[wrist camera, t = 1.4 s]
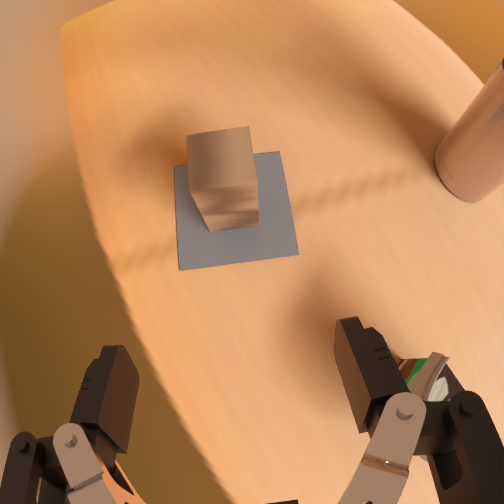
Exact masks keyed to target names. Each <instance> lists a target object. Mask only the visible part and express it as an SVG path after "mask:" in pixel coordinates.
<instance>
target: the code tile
mask: <svg viewBox="0 0 504 504" xmlns="http://www.w3.org/2000/svg"><path fill="white" fill-rule="evenodd" d="M254 161H255V167H256V174H257V180H258V205H259V226H254V227H247V228H239V229H232V230H225V231H218V232H211V233H210V231H209V229H208V227H207V225H206V223H205V221H204V219H203V217H202V215H201V213H200V211H199V209H198V207H197V205H196V203H195V201H194V199H193V197H192V195H191V193H190V191H189V178H188V164H187V165H182V166H176V167H174V175H175V202H176V223H177V240H178V255H179V268H180V271H182V270H189V269H197V268H205V267H212V266H220V265H227V264H235V263H242V262H250V261H257V260H264V259H272V258H279V257H286V256H293V255H299V251H298V245H297V240H296V234H295V228H294V223H293V217H292V212H291V207H290V201H289V196H288V191H287V186H286V181H285V176H284V171H283V166H282V161H281V156H280V152H272V153H263V154H255V155H254Z"/></svg>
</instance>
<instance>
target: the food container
mask: <svg viewBox="0 0 504 504" xmlns="http://www.w3.org/2000/svg"><path fill="white" fill-rule="evenodd" d="M448 360H449V357H445V356H444V355H443V354H439V353H436V352H432V354H431V355H430V356H429V358H420V359H403V360H402V361H401V362H400V363H399V365H398V368H399V370H400V372H401V374H402V376H403V378H404V380H405V382H406V384H407V386H408V388H409V390H410V391H411V393H413V394H415V395H417V396H418V397H420V398H421V399H422V400H425V401H450V400H451V398H452V397H453V396H454V395H455V394H456V393H458V392H460V391H465V390H464V388H463V387H462V386H461V384H460V383H459V381H458V380H457V378H456V377H455V375H454V374H453V373H452V371H451V370H450V368H449V367H448V365H447V364H446V363H447V361H448ZM501 440H502V439H501ZM419 456H420V457H421V458H422V459H424V460H425V461H427V462H428V460H427V457H426V455H419Z"/></svg>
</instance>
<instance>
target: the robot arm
mask: <svg viewBox="0 0 504 504" xmlns="http://www.w3.org/2000/svg"><path fill="white" fill-rule="evenodd" d="M434 160H435V166H436V170H437V172H438V174H439V177H440V178H441V180H442V182H443V183H444V185H445V186H446V187H447V188H448V189H449V190H450V191H451V192H452V193H453V194H454V195H455V196H457V197H458V198H460V199H462V200H464V201H467V202H478V201H480V200H482V199H483V198H484V197H486V196H487V195H488V194H490V193H491V192H492V191H494V190H495V189H496V188H498V187H499V186H501V185H502V184H503V183H504V59H503V60H502V61H501V63H500V64H499V66H498V67H497V68H496V70H495V71H494V73H493V74H492V75H491V77H490V78H489V80H488V81H487V83H486V84H485V85H484V87H483V88H482V89H481V91H480V92H479V94H478V95H477V96H476V98H475V99H474V100H473V102H472V103H471V104H470V106H469V107H468V108H467V109H466V111H465V112H464V113H463V115H462V116H461V117H460V119H459V120H458V121H457V122H456V124H455V125H454V126H453V128H452V129H451V130H450V131H449V133H448V134H447V135H446V136H445V138H444V139H443V140H442V141H441V143H440V144H439V145H438V146H437V148H436V150H435V155H434ZM334 353H335V359H336V363H337V366H338V369H339V372H340V375H341V378H342V381H343V384H344V387H345V390H346V393H347V396H348V399H349V402H350V405H351V409H352V412H353V415H354V418H355V421H356V424H357V427H358V431H359V434H360V433H364V432H367V431H368V433H369V436H370V439H371V440H370V442H369V444H368V447H367V449H366V451H365V453H364V455H363V457H362V459H361V461H360V463H359V465H358V467H357V469H356V471H355V473H354V475H353V477H352V479H351V481H350V483H349V485H348V487H347V489H346V490H345V492H344V494H343V496H342V497H341V499H340V501H339V503H338V504H397V502H398V500H399V498H400V496H401V493H402V491H403V488H404V486H405V484H406V481H407V478H408V475H409V470H408V468H409V464H410V462H411V459H412V456H413V455H426V457H427V460H428V463H429V467H430V470H431V473H432V477H433V480H434V484H435V487H436V491H437V494H438V498H439V502H440V504H504V446H503V444H502V442H501V439H500V437H499V435H498V432H497V430H496V428H495V426H494V423H493V421H492V419H491V417H490V415H489V412H488V410H487V408H486V406H485V404H484V402H483V400H482V398H481V397H480V396H479V395H478V394H476V393H474V392H472V391H460V392H458V393H456V394H455V395H454V396H453V397H452V398H451V400H450V401H425V400H422V399H421V398H420V397H418V396H417V395H415V394H413V393H411V391H410V390H409V388H408V386H407V384H406V382H405V380H404V378H403V376H402V374H401V372H400V370H399V368H398V366H397V364H396V362H395V360H394V358H393V357H392V354H391V352H390V350H389V349H388V346H387V344H386V342H385V340H384V338H383V336H382V335H381V334H380V333H379V332H378V331H376V330H375V329H374V328H373V327H370V328H366V329H364V328H363V326H362V324H361V322H360V320H359V318H358V317H357V316H354V317H349V318H344V319H339V320H337V322H336V332H335V344H334ZM138 387H139V374H138V371H137V368H136V367H135V365H134V363H133V361H132V359H131V358H130V356H129V354H128V352H127V350H126V348H125V347H124V346H123V345H105V346H104V347H103V348H102V350H101V354H100V356H99V359H94V360H93V361H92V363H91V364H90V365H89V367H88V368H87V369H86V372H85V375H84V379H83V382H82V384H81V387H80V389H81V390H79V393H78V396H77V399H76V403H75V406H74V409H73V412H72V416H71V419H70V422H69V423H68V424H65V425H63V426H61V427H60V428H59V429H58V430H57V431H56V433H55V435H54V436H50V437H45V438H40V439H37V438H36V437H35V436H33V435H32V434H31V433H29V432H21V433H19V434H17V435H16V436H15V437H14V438H13V440H12V442H11V445H10V449H9V452H8V457H7V460H6V464H5V469H4V473H3V477H2V482H1V487H0V504H37V502H36V495H37V489H38V483H39V477H40V478H42V481H41V487H40V493H39V500H38V504H146V503H145V502H144V501H143V500H142V499H141V498H140V497H139V495H138V494H137V492H136V491H135V489H134V488H133V487H132V485H131V483H130V482H129V480H128V479H127V477H126V476H125V474H124V472H123V471H122V469H121V467H120V466H119V464H118V463H117V461H116V453H124V454H127V448H128V442H129V436H130V430H131V424H132V419H133V413H134V408H135V402H136V397H137V392H138ZM268 504H298V500H291V501H284V502H276V503H268Z"/></svg>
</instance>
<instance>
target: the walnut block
mask: <svg viewBox="0 0 504 504" xmlns="http://www.w3.org/2000/svg"><path fill="white" fill-rule="evenodd" d="M187 157H188V178H189V191H190V193H191V195H192V197H193V199H194V201H195V203H196V205H197V207H198V209H199V211H200V213H201V215H202V217H203V219H204V221H205V223H206V225H207V227H208V229H209V231H210V233H211V232H218V231H225V230H232V229H239V228H247V227H254V226H259V205H258V180H257V174H256V167H255V161H254V155H253V149H252V142H251V136H250V130H249V126H246V127H239V128H231V129H224V130H217V131H211V132H205V133H199V134H193V135H187Z"/></svg>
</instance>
